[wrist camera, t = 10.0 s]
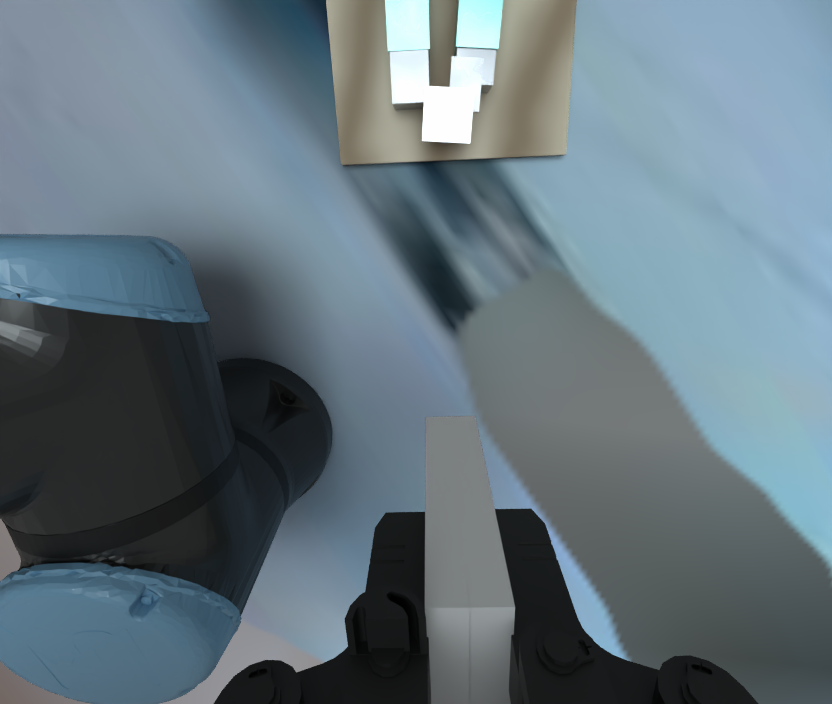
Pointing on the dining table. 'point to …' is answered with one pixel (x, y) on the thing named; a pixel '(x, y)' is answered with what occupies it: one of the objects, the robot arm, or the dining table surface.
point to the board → (499, 109)
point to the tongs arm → (464, 73)
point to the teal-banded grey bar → (408, 51)
